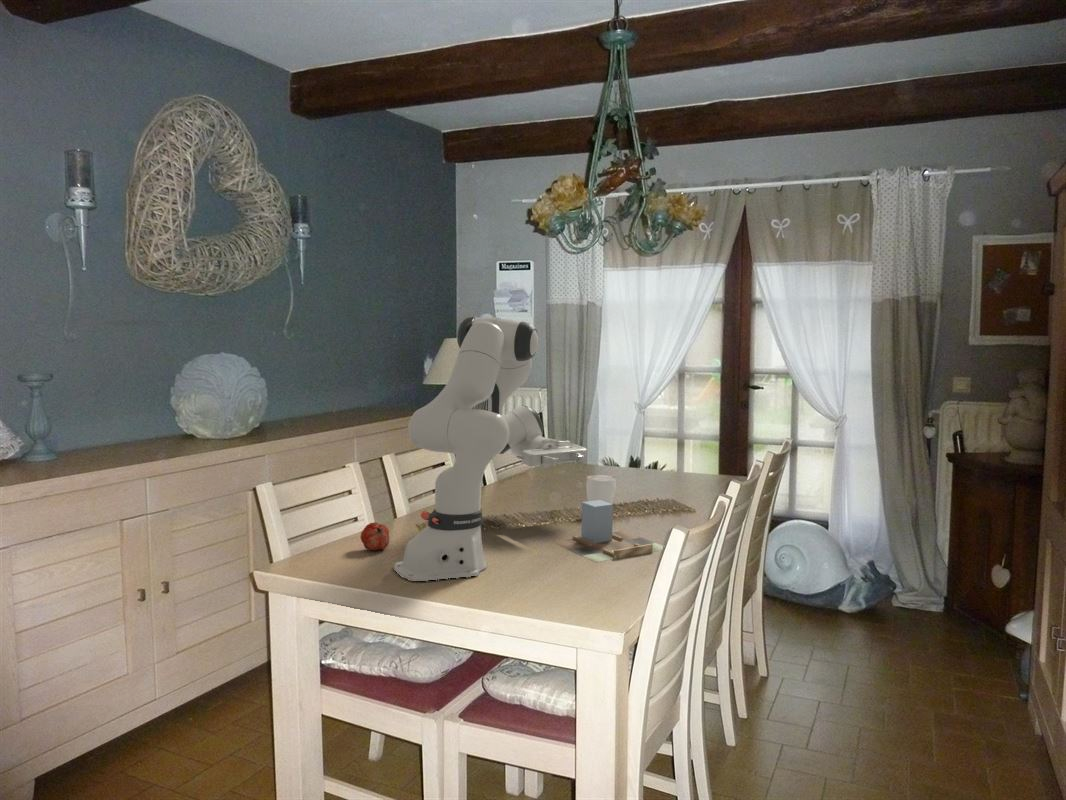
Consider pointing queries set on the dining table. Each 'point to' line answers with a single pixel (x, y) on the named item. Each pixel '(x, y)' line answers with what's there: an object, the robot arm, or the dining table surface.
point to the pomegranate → (375, 536)
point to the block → (597, 521)
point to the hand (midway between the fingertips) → (569, 460)
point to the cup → (600, 488)
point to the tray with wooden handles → (611, 546)
